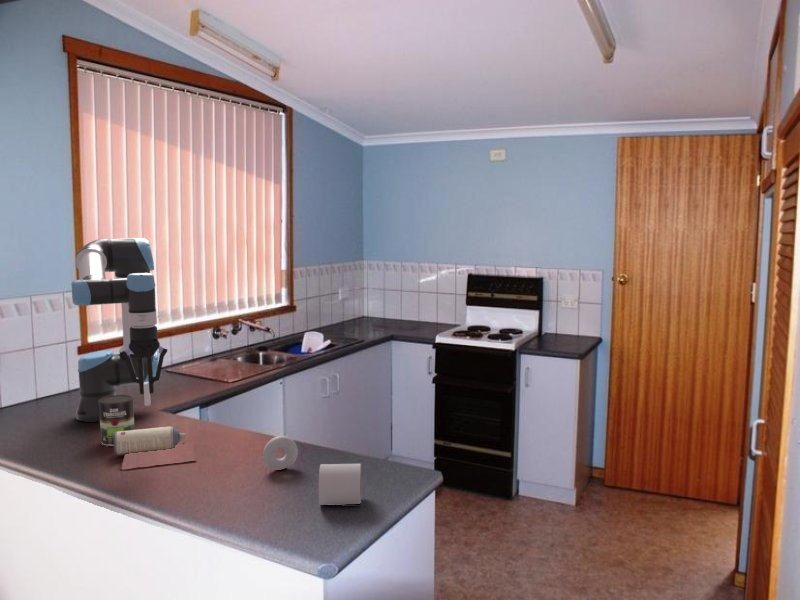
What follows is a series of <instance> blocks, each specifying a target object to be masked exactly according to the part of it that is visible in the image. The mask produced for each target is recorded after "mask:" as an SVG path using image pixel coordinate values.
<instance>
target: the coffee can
mask: <svg viewBox="0 0 800 600" xmlns="http://www.w3.org/2000/svg"><path fill="white" fill-rule="evenodd" d="M98 403H99V414H100V421H99V426H100V429H99V430H100V444H101V443H102V444H104V445H114V432H118V431H129V430H135V414H134V412H135V411H134V396H132V395H128V394H116V395H114V396H108V397H104V398H102V399H100V400H99V401H98ZM102 444H101V445H102Z"/></svg>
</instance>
